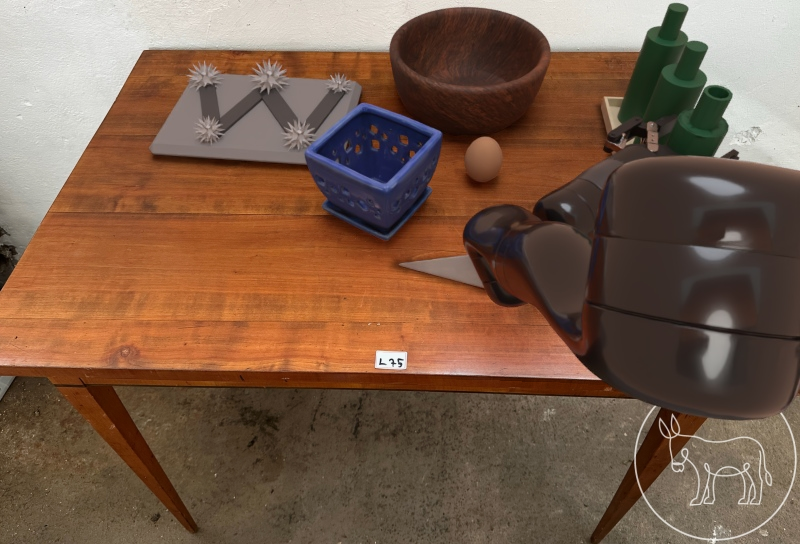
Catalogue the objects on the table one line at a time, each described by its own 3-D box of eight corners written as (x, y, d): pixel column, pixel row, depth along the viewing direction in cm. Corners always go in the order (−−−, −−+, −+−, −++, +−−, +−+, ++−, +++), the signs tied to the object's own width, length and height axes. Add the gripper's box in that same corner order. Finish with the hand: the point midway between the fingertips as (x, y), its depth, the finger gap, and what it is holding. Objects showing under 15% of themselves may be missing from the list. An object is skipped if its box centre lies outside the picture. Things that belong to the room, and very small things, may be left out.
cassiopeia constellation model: (149, 160, 83) (131, 121, 78) (197, 81, 97) (184, 43, 91) (341, 173, 81) (337, 134, 75) (363, 90, 94) (360, 52, 89)
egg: (471, 161, 82) (475, 123, 77) (504, 172, 81) (511, 133, 75) (456, 183, 79) (460, 145, 74) (491, 195, 78) (497, 156, 72)
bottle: (684, 199, 76) (746, 85, 62) (678, 226, 73) (743, 112, 59) (642, 188, 77) (695, 74, 63) (635, 214, 74) (689, 99, 60)
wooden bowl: (391, 62, 100) (390, 6, 92) (527, 60, 99) (537, 4, 91) (389, 149, 84) (387, 91, 76) (551, 147, 84) (566, 89, 76)
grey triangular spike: (396, 298, 66) (503, 289, 64) (393, 260, 67) (500, 250, 64) (405, 301, 72) (504, 292, 69) (402, 266, 73) (501, 256, 70)
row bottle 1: (655, 113, 88) (702, 2, 74) (650, 133, 85) (698, 20, 71) (620, 105, 90) (660, -6, 76) (614, 124, 87) (654, 12, 72)
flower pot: (311, 219, 75) (297, 150, 66) (367, 166, 82) (362, 97, 73) (390, 259, 70) (387, 191, 61) (443, 199, 77) (447, 130, 68)
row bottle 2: (669, 153, 82) (723, 39, 68) (663, 176, 79) (719, 61, 65) (631, 143, 84) (676, 30, 69) (624, 165, 80) (670, 51, 66)
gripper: (679, 203, 55) (772, 143, 61) (576, 132, 62) (666, 85, 68) (653, 251, 61) (740, 192, 67) (561, 181, 68) (646, 134, 74)
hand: (703, 138), depth 67 cm, fingers open, 8 cm apart
